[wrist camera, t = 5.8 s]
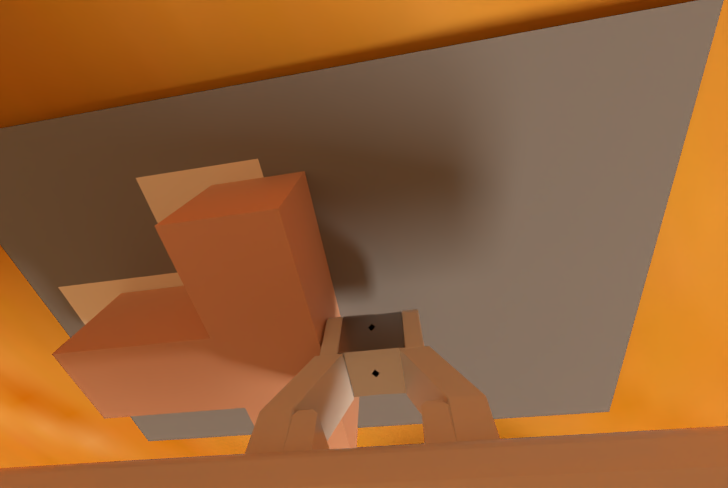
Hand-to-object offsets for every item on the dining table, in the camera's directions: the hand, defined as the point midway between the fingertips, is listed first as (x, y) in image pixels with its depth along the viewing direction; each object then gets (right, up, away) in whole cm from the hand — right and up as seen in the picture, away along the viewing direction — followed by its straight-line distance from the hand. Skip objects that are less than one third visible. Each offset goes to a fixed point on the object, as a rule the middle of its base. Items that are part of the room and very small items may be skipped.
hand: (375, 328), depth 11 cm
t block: (-5, 0, +2) cm, 6 cm away
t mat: (-2, +1, +2) cm, 3 cm away
